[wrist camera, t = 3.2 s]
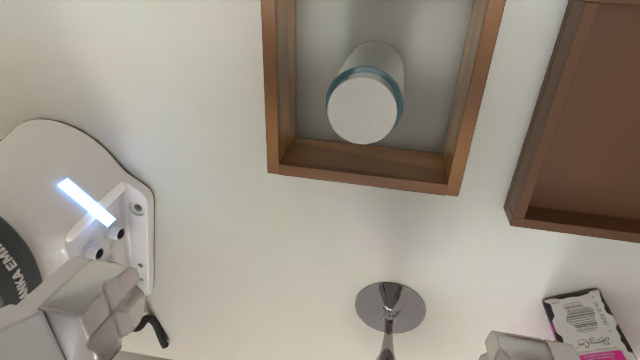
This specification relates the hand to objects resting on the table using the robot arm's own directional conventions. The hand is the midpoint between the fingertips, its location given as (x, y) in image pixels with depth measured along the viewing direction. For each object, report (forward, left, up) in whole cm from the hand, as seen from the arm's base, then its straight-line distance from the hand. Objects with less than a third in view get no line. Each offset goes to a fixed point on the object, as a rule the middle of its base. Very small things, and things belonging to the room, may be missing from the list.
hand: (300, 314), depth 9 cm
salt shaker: (0, 0, -23) cm, 23 cm away
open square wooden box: (0, 0, -23) cm, 23 cm away
